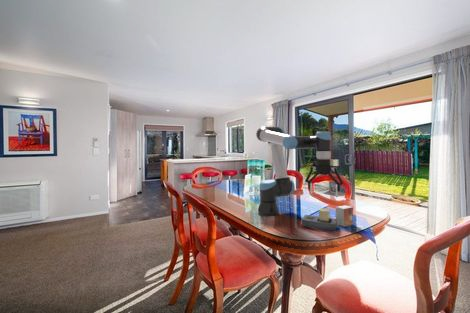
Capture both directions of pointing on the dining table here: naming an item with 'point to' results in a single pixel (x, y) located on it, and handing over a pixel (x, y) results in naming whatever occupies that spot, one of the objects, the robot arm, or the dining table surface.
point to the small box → (344, 215)
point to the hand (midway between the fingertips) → (323, 195)
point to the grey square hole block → (318, 223)
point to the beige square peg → (324, 215)
